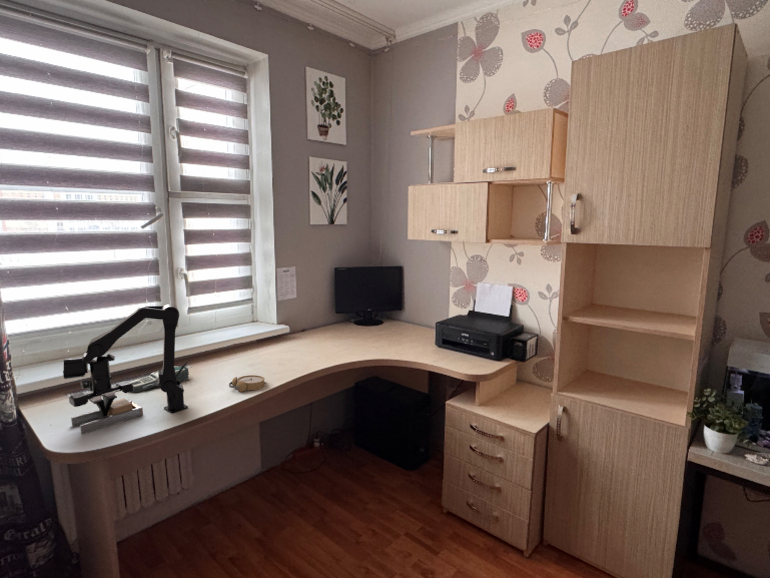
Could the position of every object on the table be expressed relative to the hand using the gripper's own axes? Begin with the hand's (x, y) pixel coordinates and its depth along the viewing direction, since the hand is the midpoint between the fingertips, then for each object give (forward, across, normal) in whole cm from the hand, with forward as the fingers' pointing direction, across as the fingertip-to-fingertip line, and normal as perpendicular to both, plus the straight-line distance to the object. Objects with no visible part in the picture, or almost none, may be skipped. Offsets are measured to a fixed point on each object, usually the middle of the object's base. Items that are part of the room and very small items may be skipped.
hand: (104, 416), depth 161 cm
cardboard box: (+2, -5, 0) cm, 5 cm away
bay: (+2, -1, 0) cm, 2 cm away
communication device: (+2, -29, -23) cm, 37 cm away
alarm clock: (+2, -51, +10) cm, 52 cm away
